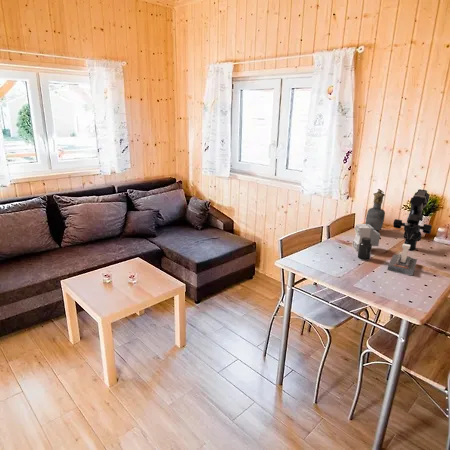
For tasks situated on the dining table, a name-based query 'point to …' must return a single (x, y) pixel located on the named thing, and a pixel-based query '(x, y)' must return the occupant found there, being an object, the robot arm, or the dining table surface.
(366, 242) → the supplement bottle
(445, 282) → the dining table surface
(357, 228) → the circuit breaker
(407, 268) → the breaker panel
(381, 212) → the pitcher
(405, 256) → the handle
